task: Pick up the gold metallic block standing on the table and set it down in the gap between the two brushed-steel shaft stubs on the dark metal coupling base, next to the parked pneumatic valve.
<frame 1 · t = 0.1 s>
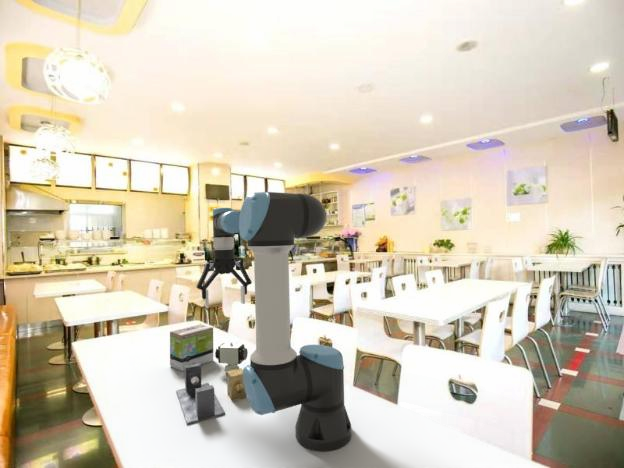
hand: (225, 305, 130), 28 cm above the table, fingers open, 13 cm apart
coupling base: (199, 402, 112), on the table
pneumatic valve: (232, 373, 136), on the table
gold metallic block: (236, 395, 116), on the table
tea box: (192, 364, 147), on the table
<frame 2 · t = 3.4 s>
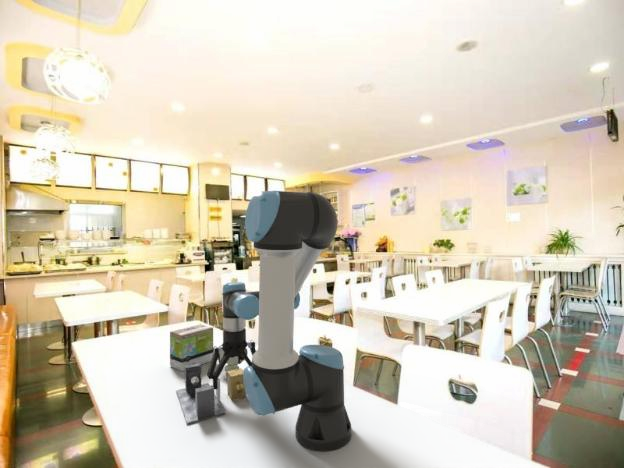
hand: (235, 394, 116), 1 cm above the table, fingers open, 11 cm apart
nothing on the table moved.
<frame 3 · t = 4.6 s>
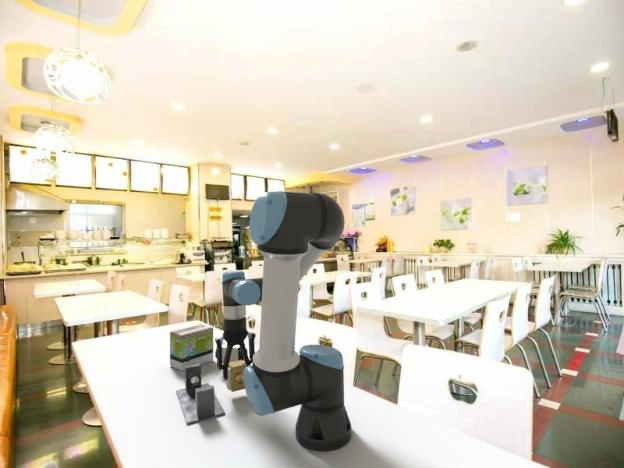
hand: (237, 386, 116), 3 cm above the table, fingers closed on gold metallic block, 5 cm apart
gold metallic block: (237, 387, 116), point 3 cm above the table, touching gripper
everything else where it was.
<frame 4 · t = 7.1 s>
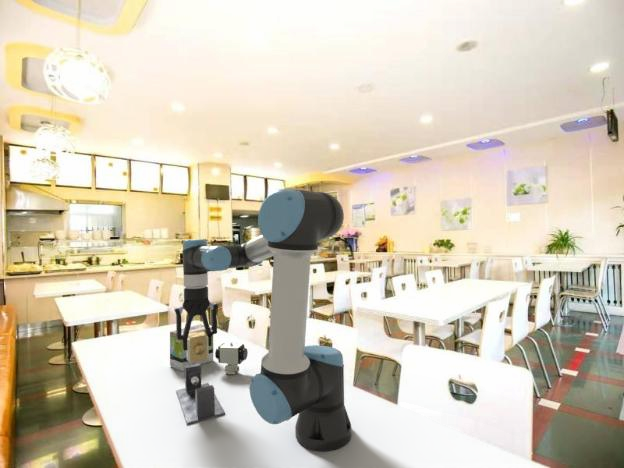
hand: (197, 357, 112), 15 cm above the table, fingers closed on gold metallic block, 5 cm apart
gold metallic block: (197, 358, 112), point 14 cm above the table, touching gripper
everything else where it was.
when the fingers open (2 cm above the table, at t = 9.9 s): gold metallic block stays where it is, resting on coupling base.
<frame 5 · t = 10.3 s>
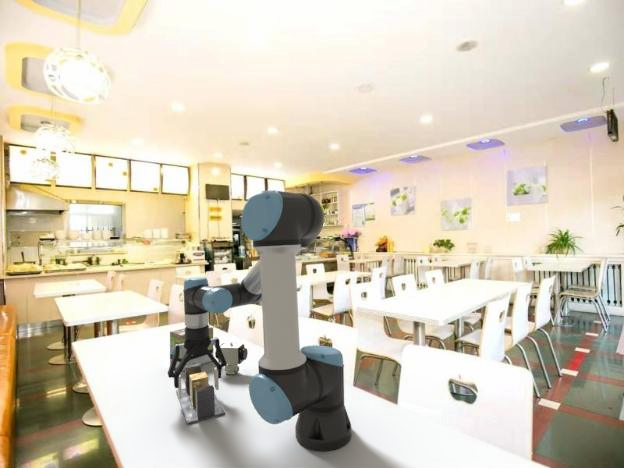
hand: (198, 392, 112), 3 cm above the table, fingers open, 11 cm apart
gold metallic block: (199, 400, 112), point 1 cm above the table, touching coupling base
everything else where it was.
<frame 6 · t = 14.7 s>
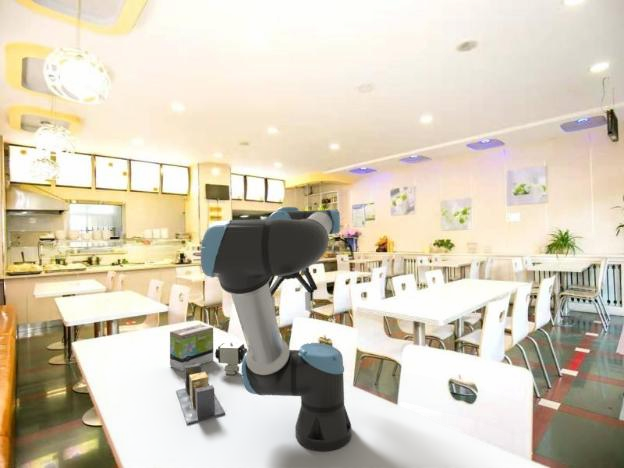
hand: (290, 313, 119), 27 cm above the table, fingers open, 13 cm apart
nothing on the table moved.
at the end: gold metallic block inside the target area on the coupling base (0.1 cm from its centre), point 0.6 cm above the coupling base's base; gold metallic block tilted 0°; the gripper is holding nothing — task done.
